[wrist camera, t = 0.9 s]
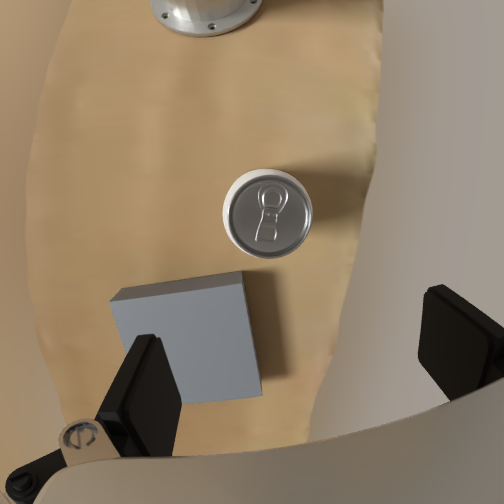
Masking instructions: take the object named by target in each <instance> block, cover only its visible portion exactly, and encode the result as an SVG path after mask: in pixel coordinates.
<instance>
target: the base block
mask: <svg viewBox="0 0 504 504" xmlns="http://www.w3.org/2000/svg"><path fill="white" fill-rule="evenodd" d="M109 303H110V306H111V310H112V313H113V316H114V319H115V322H116V325H117V328H118V331H119V334H120V337H121V340H122V342H123V345H124V348H125V351H126V353H128V352H129V350H130V348H131V346H132V344H133V342H134V340H135V338H136V337H137V335H143V334H155V336H156V337H160V338H161V340H162V343H163V346H164V349H165V352H166V355H167V358H168V361H169V364H170V367H171V370H172V373H173V376H174V379H175V382H176V384H177V387H178V390H179V393H180V396H181V400H182V404H190V403H203V402H215V401H225V400H234V399H242V398H250V397H258V396H263V395H262V385H261V375H260V370H259V364H258V359H257V353H256V348H255V342H254V336H253V331H252V325H251V320H250V314H249V308H248V303H247V297H246V291H245V286H244V280H243V274H242V271H236V272H230V273H223V274H217V275H210V276H204V277H197V278H190V279H184V280H177V281H170V282H164V283H157V284H150V285H143V286H136V287H129V288H122V289H121V290H120V291H119V292H118V293H117V294H116V295H115V296H114V297H113V298H112V299H111V300H110V301H109Z"/></svg>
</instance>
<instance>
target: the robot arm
mask: <svg viewBox="0 0 504 504" xmlns="http://www.w3.org/2000/svg"><path fill="white" fill-rule="evenodd" d="M262 1H263V0H150V3H151V8H152V11H153V13H154V15H155V16H156V18H157V19H158V21H159V22H160V23H161V24H162V25H164V26H165V27H166V28H168V29H169V30H171V31H173V32H176V33H179V34H182V35H186V36H193V37H207V36H214V35H219V34H223V33H226V32H229V31H231V30H234V29H236V28H238V27H240V26H241V25H243V24H244V23H246V22H247V21H248V20H249V19H251V18H252V17H253V16H254V15H255V13H256V12H257V11H258V9H259V8H260V5H261V3H262ZM252 3H255V4H252ZM165 18H166V19H165ZM212 28H214V29H213V30H210V29H212ZM418 359H419V362H420V363H421V365H422V366H423V367H424V368H425V370H426V371H427V372H428V373H429V375H430V376H431V377H432V378H433V380H434V381H435V382H436V383H437V385H438V386H439V387H440V389H441V390H442V391H443V392H444V394H445V395H446V396H447V398H448V399H449V400H450V402H447V403H444V404H442V405H440V406H437V407H434V408H431V409H429V410H426V411H423V412H421V413H418V414H415V415H412V416H409V417H406V418H403V419H400V420H396V421H393V422H390V423H387V424H384V425H380V426H377V427H373V428H370V429H366V430H362V431H358V432H355V433H350V434H346V435H342V436H338V437H334V438H329V439H325V440H319V441H315V442H309V443H304V444H298V445H293V446H287V447H280V448H273V449H266V450H259V451H250V452H241V453H230V454H216V455H199V456H172V452H173V447H174V442H175V437H176V431H177V426H178V421H179V416H180V412H181V407H182V400H181V396H180V393H179V390H178V387H177V384H176V382H175V379H174V376H173V373H172V370H171V367H170V364H169V361H168V358H167V355H166V352H165V349H164V346H163V343H162V340H161V338H160V337H156V336H155V334H143V335H137V337H136V338H135V340H134V342H133V344H132V346H131V348H130V350H129V352H128V353H127V355H126V357H125V359H124V361H123V363H122V365H121V367H120V369H119V371H118V373H117V375H116V377H115V379H114V380H113V382H112V384H111V386H110V388H109V390H108V392H107V394H106V396H105V398H104V400H103V402H102V404H101V406H100V408H99V411H98V413H97V415H96V417H95V419H94V420H93V419H80V420H76V421H74V422H72V423H70V424H68V425H67V426H66V427H65V428H64V429H63V430H62V432H61V433H60V436H59V445H60V449H58V450H56V451H54V452H52V453H50V454H48V455H46V456H43V457H41V458H39V459H37V460H35V461H33V462H31V463H29V464H26V465H24V466H22V467H20V468H18V469H16V470H15V471H13V472H12V473H11V474H10V475H9V477H8V478H7V480H6V485H5V488H6V492H5V493H4V494H3V493H2V492H1V491H0V504H504V328H503V327H502V326H501V325H499V324H498V323H497V322H495V321H494V320H492V319H491V318H490V317H489V316H487V315H486V314H485V313H483V312H482V311H480V310H479V309H478V308H476V307H475V306H474V305H472V304H471V303H469V302H468V301H467V300H465V299H464V298H462V297H461V296H459V295H458V294H457V293H455V292H454V291H452V290H451V289H449V288H448V287H446V286H445V285H443V284H441V285H437V286H433V287H429V288H428V290H427V292H425V294H424V299H423V311H422V322H421V332H420V340H419V349H418Z"/></svg>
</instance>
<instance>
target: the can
mask: <svg viewBox="0 0 504 504" xmlns="http://www.w3.org/2000/svg"><path fill="white" fill-rule="evenodd" d="M312 215H313V212H312V204H311V200H310V197H309V195H308V193H307V191H306V190H305V188H304V187H303V186H302V184H301V183H300V182H299V181H298V180H297V179H295V178H294V177H293V176H291V175H289V174H287V173H285V172H283V171H279V170H275V169H259V170H253V171H250V172H247V173H245V174H243V175H242V176H240V177H239V178H238V179H237V180H236V181H235V182H234V184H233V185H232V186H231V188H230V190H229V191H228V193H227V196H226V198H225V201H224V206H223V222H224V226H225V229H226V231H227V234H228V236H229V237H230V239H231V240H232V242H233V243H234V244H235V245H236V246H237V247H238V248H240V249H241V250H242V251H244V252H245V253H247V254H249V255H252V256H255V257H259V258H266V259H272V258H279V257H283V256H285V255H288V254H290V253H291V252H293V251H294V250H296V249H297V248H298V247H299V246H300V245H301V244H302V243H303V241H304V240H305V238H306V237H307V235H308V233H309V230H310V227H311V223H312Z"/></svg>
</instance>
